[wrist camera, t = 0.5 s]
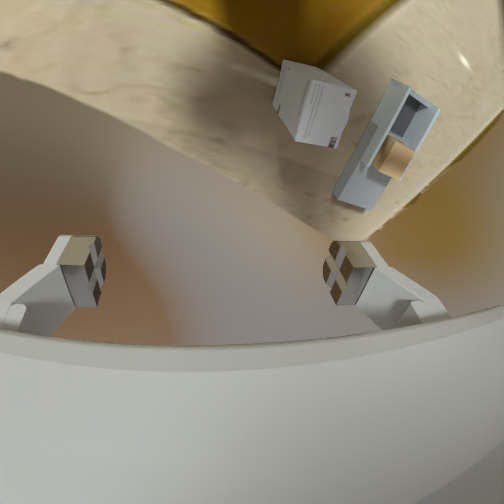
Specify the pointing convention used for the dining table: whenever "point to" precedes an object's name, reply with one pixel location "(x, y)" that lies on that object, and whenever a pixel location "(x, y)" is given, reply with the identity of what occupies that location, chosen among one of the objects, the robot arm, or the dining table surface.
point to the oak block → (393, 157)
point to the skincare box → (312, 104)
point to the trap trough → (383, 123)
